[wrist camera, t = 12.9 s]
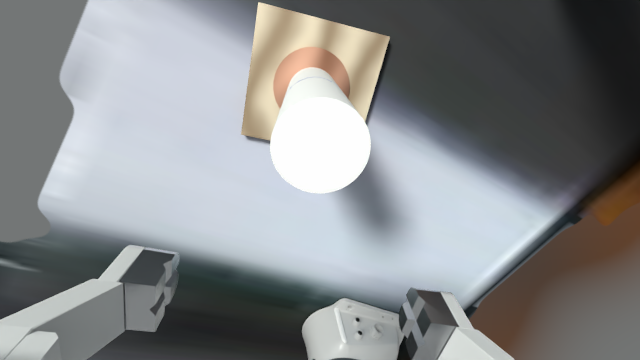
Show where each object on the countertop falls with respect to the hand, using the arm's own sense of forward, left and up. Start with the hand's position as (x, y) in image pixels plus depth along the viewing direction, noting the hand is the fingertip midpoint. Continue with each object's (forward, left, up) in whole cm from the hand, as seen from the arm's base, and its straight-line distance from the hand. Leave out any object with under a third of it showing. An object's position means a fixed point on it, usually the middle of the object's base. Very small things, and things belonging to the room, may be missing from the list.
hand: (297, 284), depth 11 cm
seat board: (-1, -2, -39) cm, 39 cm away
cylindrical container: (-1, -1, -38) cm, 38 cm away
